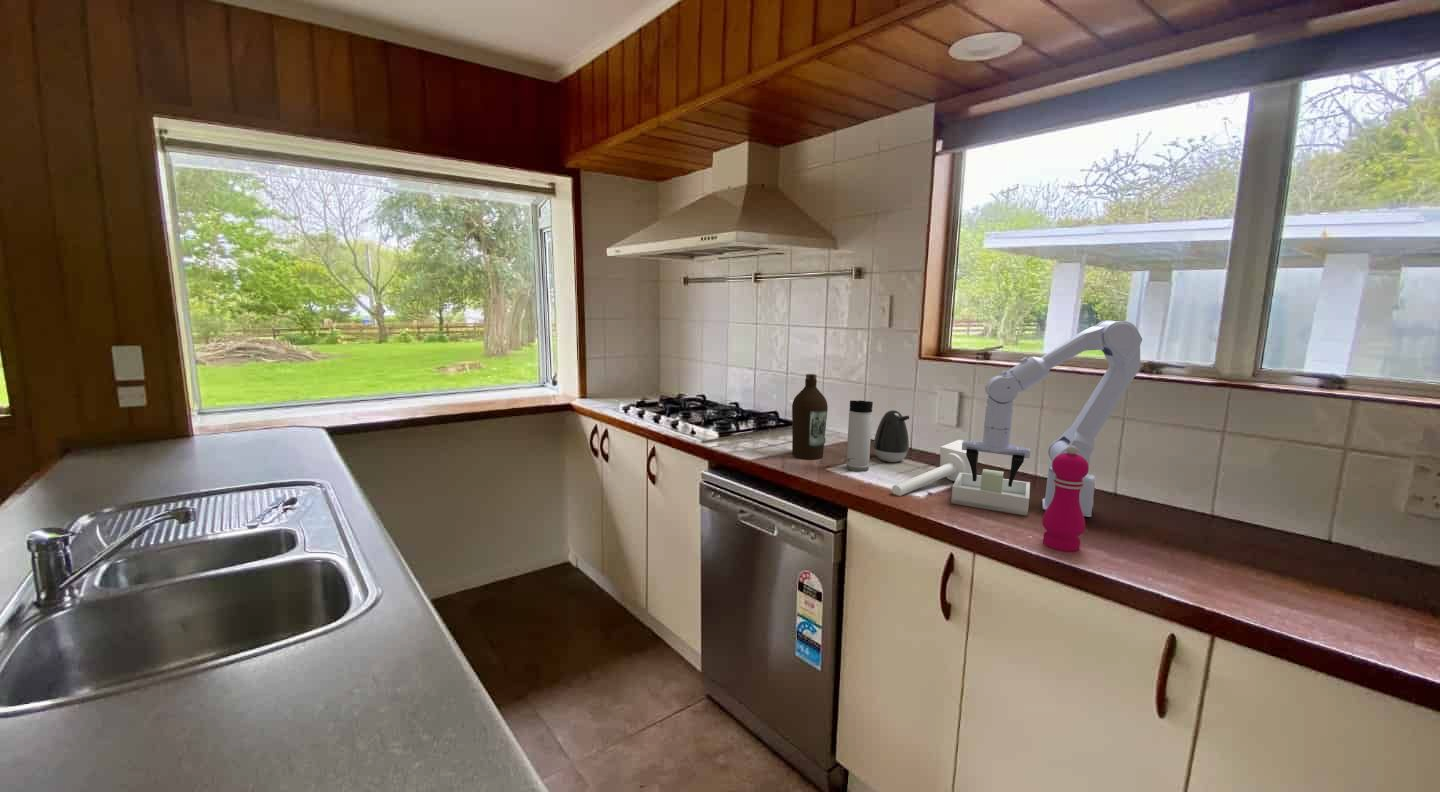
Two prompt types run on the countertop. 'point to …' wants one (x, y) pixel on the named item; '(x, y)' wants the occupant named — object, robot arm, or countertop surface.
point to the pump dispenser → (892, 437)
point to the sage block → (992, 481)
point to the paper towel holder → (939, 469)
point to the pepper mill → (1066, 503)
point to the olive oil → (809, 421)
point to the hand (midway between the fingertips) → (992, 482)
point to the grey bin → (991, 495)
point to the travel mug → (859, 435)
